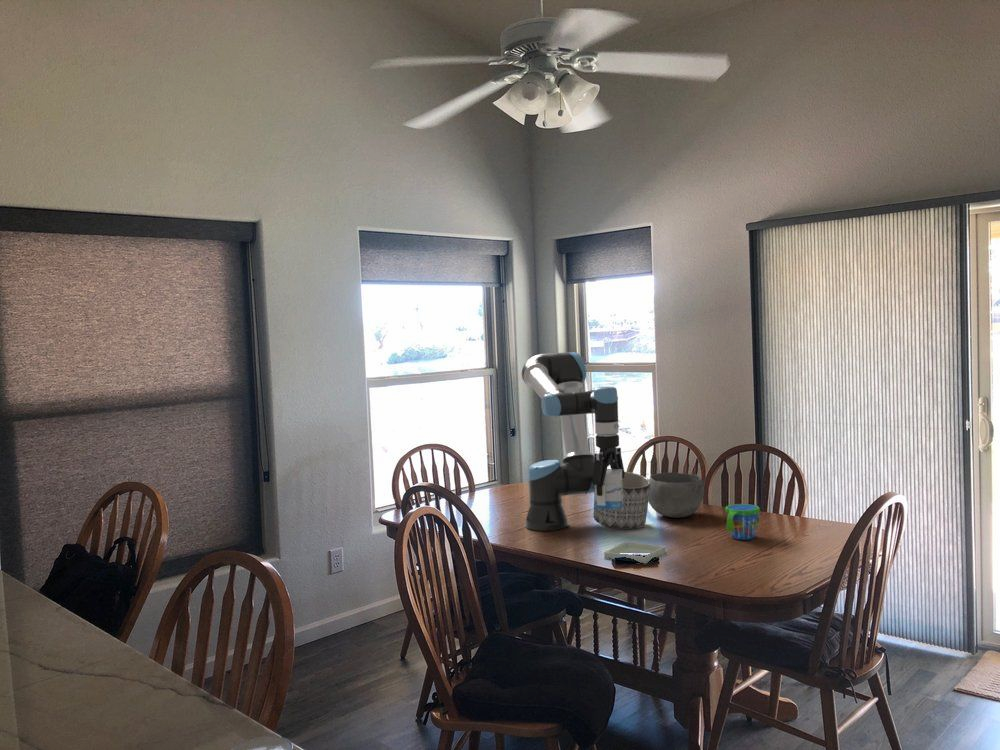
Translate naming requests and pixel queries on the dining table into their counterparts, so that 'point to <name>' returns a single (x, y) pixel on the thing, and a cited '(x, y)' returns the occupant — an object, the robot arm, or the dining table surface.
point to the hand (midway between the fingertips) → (609, 501)
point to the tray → (635, 551)
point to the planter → (627, 505)
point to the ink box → (612, 490)
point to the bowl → (675, 494)
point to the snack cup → (742, 520)
